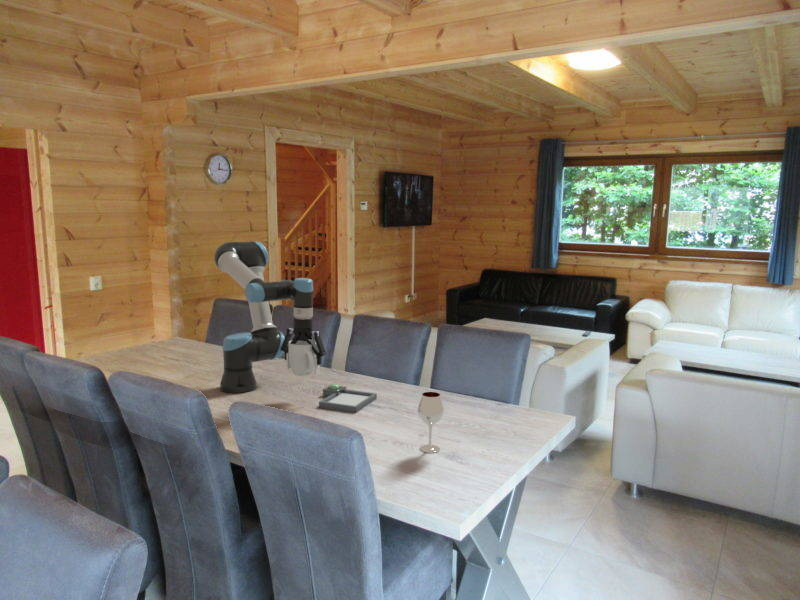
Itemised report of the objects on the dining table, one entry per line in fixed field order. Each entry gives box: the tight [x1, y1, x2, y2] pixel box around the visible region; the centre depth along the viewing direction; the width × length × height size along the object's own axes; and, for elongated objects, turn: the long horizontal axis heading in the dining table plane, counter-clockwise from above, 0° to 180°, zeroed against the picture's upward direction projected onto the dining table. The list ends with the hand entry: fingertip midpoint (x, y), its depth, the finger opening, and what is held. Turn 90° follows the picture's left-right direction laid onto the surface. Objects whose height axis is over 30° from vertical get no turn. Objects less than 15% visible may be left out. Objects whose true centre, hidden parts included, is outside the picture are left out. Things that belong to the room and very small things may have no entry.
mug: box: [288, 339, 317, 377], centre depth 232 cm, size 15×11×13 cm
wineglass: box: [417, 391, 445, 454], centre depth 185 cm, size 8×8×18 cm
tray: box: [318, 388, 378, 413], centre depth 232 cm, size 16×19×2 cm
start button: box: [329, 383, 340, 390], centre depth 241 cm, size 4×4×2 cm
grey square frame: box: [322, 385, 347, 398], centre depth 242 cm, size 7×7×3 cm
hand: (302, 370), depth 233 cm, fingers closed on mug, 12 cm apart
